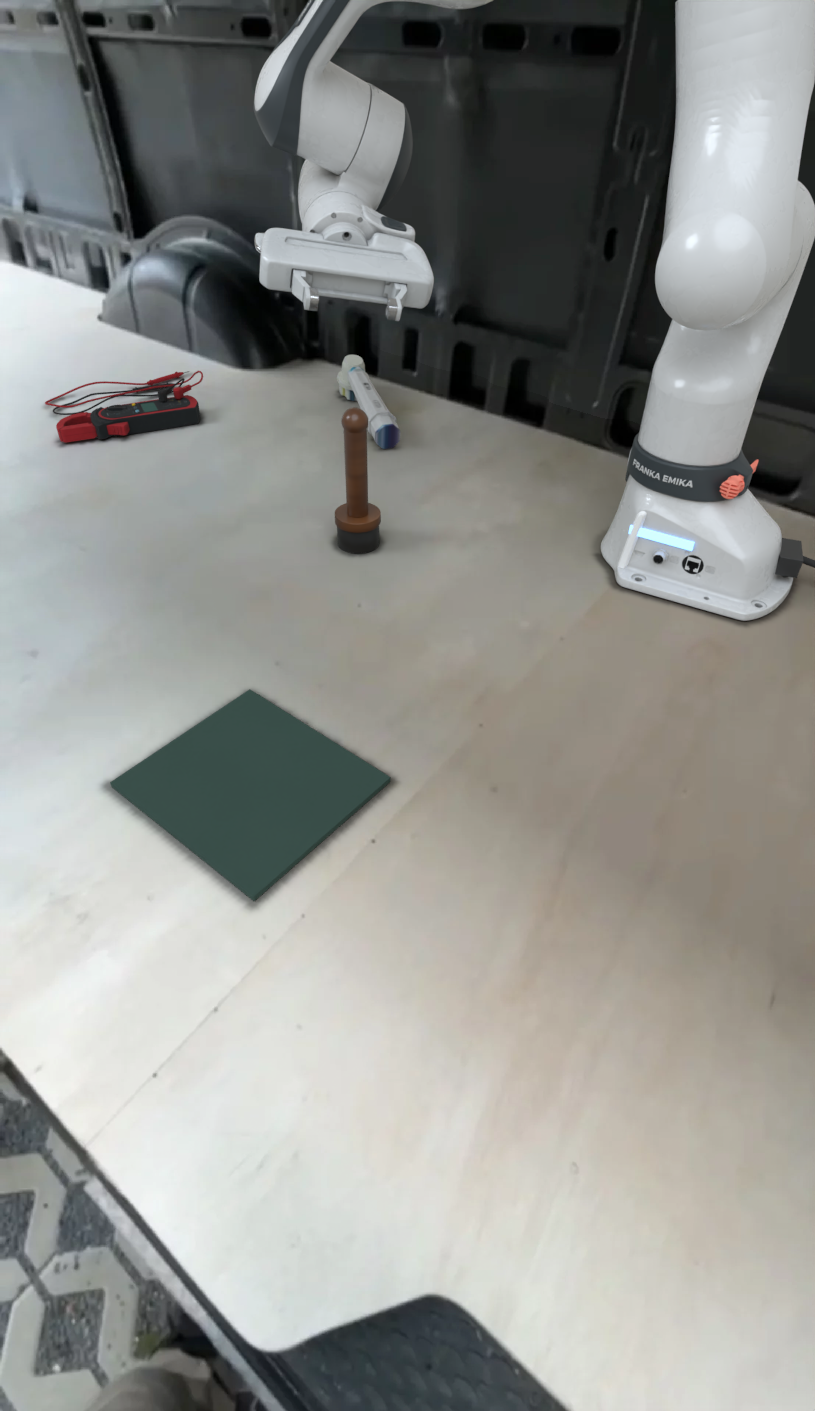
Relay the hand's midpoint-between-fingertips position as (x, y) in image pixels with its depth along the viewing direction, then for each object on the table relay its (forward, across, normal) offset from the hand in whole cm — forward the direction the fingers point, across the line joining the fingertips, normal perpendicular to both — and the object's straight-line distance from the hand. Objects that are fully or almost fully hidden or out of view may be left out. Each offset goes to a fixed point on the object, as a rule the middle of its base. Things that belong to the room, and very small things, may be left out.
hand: (353, 309), depth 89 cm
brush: (+15, +2, +21) cm, 26 cm away
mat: (+52, -13, +13) cm, 55 cm away
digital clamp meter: (-30, -27, +39) cm, 56 cm away
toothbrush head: (-22, +10, +31) cm, 39 cm away
